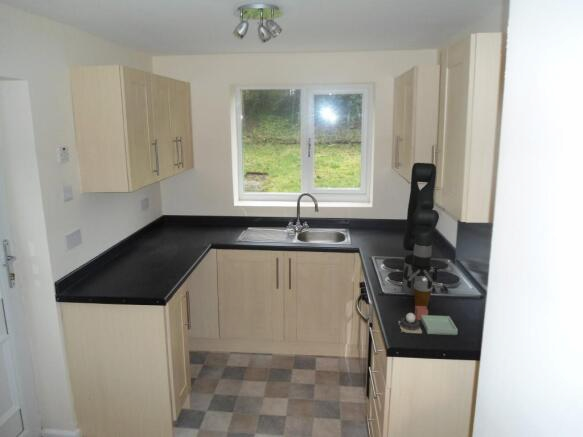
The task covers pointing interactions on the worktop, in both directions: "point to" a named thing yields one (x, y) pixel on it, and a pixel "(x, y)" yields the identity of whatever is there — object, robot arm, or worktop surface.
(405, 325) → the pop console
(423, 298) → the disposable coffee cup
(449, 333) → the tray
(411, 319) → the dome
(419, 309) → the cube
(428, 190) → the robot arm
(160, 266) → the worktop surface
